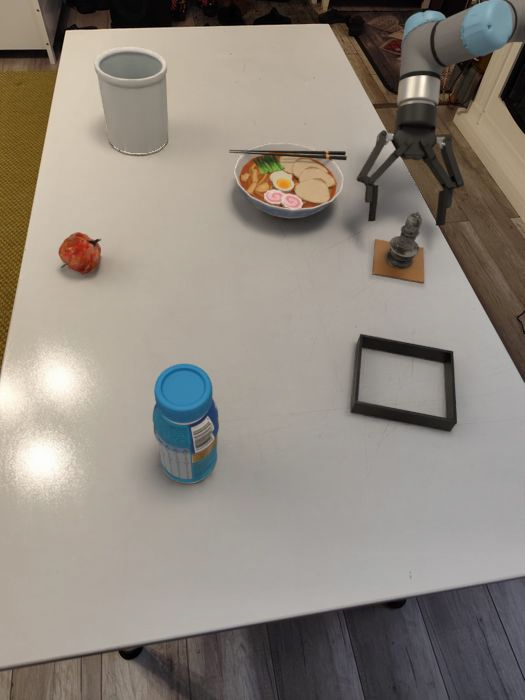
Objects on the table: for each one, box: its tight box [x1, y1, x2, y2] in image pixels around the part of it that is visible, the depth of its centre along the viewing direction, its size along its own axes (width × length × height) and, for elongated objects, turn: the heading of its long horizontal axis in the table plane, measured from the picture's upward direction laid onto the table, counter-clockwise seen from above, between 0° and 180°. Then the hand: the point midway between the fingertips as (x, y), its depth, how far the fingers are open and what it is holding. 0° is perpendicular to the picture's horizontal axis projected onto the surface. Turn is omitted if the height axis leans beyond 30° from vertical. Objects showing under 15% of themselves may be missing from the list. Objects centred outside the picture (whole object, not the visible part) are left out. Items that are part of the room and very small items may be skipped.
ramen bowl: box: [228, 141, 348, 220], centre depth 109 cm, size 25×23×8 cm
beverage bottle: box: [152, 363, 220, 484], centre depth 68 cm, size 8×8×20 cm
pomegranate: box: [58, 231, 102, 275], centre depth 94 cm, size 7×7×10 cm
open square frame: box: [350, 333, 458, 432], centre depth 86 cm, size 16×14×3 cm
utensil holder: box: [93, 46, 169, 156], centre depth 115 cm, size 15×15×18 cm
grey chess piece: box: [386, 211, 423, 269], centre depth 99 cm, size 6×6×12 cm
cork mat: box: [372, 238, 425, 284], centre depth 104 cm, size 10×10×1 cm
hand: (406, 223), depth 101 cm, fingers open, 13 cm apart
